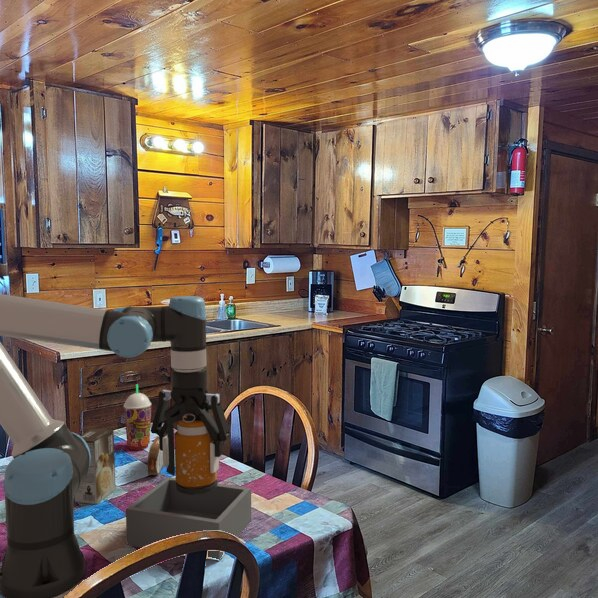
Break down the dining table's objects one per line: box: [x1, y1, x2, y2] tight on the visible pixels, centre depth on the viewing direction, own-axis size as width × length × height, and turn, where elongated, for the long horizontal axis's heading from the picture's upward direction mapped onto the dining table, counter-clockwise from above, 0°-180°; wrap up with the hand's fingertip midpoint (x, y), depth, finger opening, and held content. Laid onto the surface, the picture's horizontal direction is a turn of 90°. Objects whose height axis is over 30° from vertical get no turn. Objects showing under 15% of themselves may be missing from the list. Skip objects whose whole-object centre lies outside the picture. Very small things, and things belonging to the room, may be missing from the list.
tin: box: [146, 435, 164, 476], centre depth 165 cm, size 15×3×8 cm, turn 2°
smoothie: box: [123, 383, 152, 451], centre depth 182 cm, size 8×8×20 cm
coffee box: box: [74, 428, 117, 505], centre depth 147 cm, size 9×6×16 cm
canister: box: [164, 400, 218, 495], centre depth 127 cm, size 9×11×20 cm
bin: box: [125, 477, 252, 561], centre depth 129 cm, size 17×21×8 cm
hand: (191, 467), depth 127 cm, fingers closed on canister, 11 cm apart
